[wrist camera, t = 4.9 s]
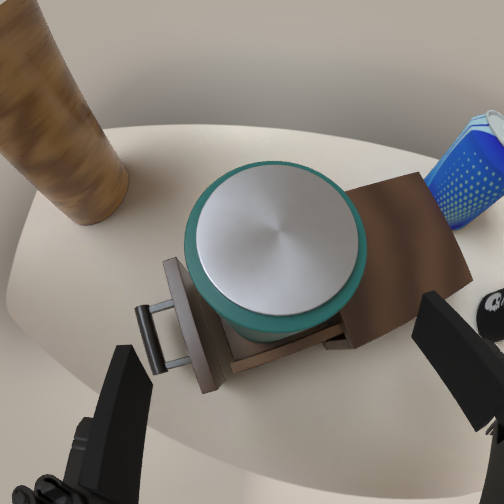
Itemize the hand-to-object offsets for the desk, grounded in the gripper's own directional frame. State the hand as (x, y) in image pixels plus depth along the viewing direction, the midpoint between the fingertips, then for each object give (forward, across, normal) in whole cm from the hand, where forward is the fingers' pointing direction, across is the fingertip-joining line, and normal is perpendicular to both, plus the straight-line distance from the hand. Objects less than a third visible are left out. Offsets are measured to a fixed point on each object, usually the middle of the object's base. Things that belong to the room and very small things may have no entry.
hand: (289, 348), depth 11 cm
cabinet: (+15, +11, -7) cm, 20 cm away
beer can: (+20, +26, -2) cm, 33 cm away
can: (+12, 0, -7) cm, 14 cm away
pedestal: (+26, -19, +4) cm, 33 cm away
